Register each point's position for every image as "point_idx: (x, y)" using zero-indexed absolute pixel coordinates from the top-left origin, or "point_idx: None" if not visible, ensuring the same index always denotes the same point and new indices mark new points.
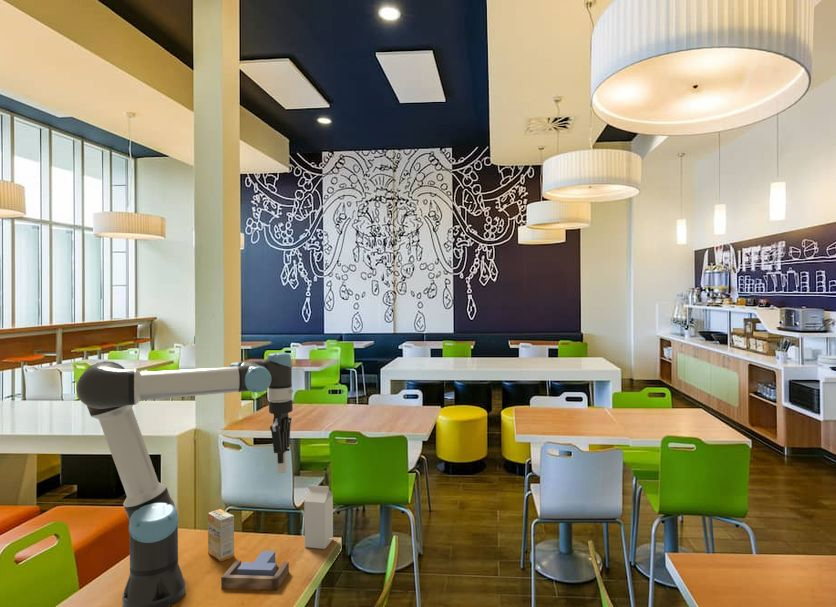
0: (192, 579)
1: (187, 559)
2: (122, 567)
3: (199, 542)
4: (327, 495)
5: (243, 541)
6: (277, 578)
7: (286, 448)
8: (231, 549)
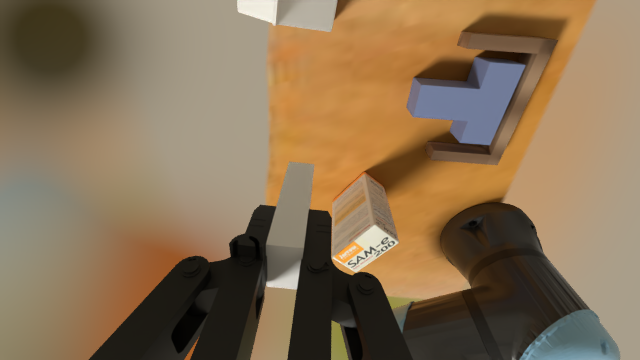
0: (439, 207)
1: None
2: None
3: None
4: None
5: None
6: (554, 40)
7: (250, 266)
8: (370, 182)
